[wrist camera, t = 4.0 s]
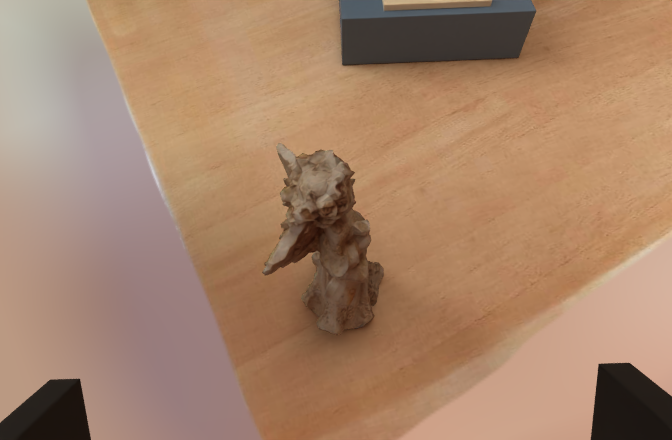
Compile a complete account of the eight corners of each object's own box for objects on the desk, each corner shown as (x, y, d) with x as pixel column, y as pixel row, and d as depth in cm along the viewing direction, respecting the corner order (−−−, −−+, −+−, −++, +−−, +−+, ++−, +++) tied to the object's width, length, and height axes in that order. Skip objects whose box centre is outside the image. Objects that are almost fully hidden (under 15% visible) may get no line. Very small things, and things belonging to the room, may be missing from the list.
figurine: (383, 354, 27) (412, 235, 14) (291, 351, 27) (240, 230, 15) (382, 253, 31) (403, 90, 18) (301, 251, 31) (268, 89, 19)
